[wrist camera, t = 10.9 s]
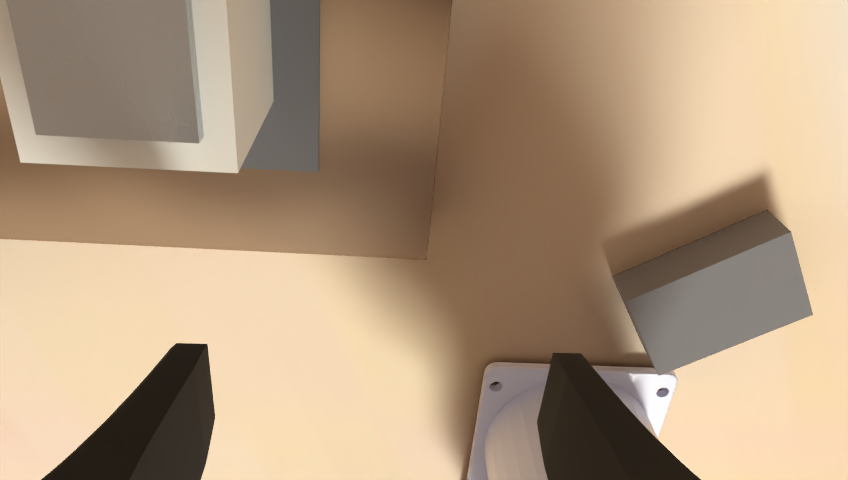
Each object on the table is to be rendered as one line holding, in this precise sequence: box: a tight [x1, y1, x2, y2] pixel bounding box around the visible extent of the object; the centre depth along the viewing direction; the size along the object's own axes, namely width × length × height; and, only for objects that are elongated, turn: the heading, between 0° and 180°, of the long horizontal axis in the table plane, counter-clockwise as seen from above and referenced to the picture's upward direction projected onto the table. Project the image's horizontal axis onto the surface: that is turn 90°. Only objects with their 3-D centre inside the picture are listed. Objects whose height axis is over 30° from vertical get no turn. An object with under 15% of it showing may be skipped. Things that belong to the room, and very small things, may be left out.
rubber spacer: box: [613, 210, 813, 376], centre depth 25 cm, size 4×6×2 cm, turn 117°
